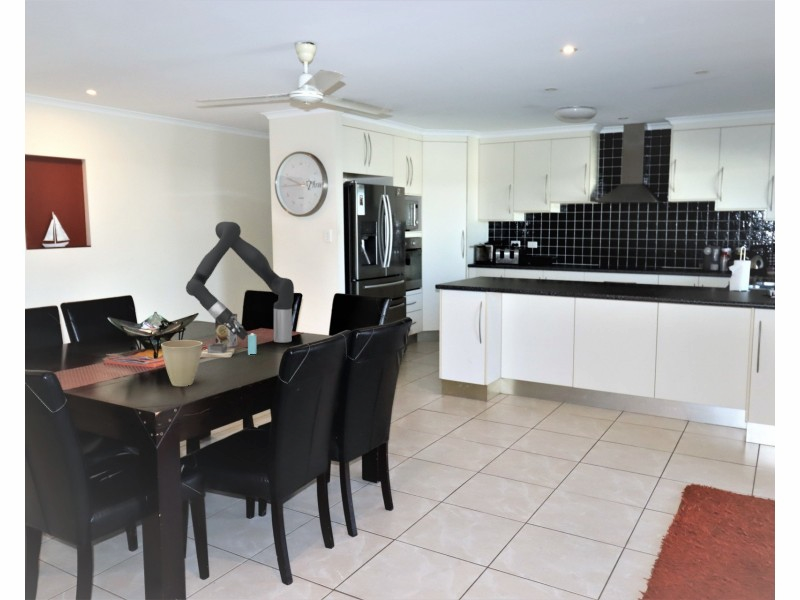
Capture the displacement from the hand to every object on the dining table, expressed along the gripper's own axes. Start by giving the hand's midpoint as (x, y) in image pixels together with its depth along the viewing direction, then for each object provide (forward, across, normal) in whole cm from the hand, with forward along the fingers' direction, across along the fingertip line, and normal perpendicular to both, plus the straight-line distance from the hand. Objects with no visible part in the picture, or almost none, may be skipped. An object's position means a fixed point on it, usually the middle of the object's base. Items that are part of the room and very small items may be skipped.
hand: (245, 337), depth 291 cm
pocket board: (-3, 0, +15) cm, 15 cm away
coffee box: (-3, +20, +14) cm, 25 cm away
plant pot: (-6, -53, +18) cm, 56 cm away
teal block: (+8, 0, +4) cm, 9 cm away
